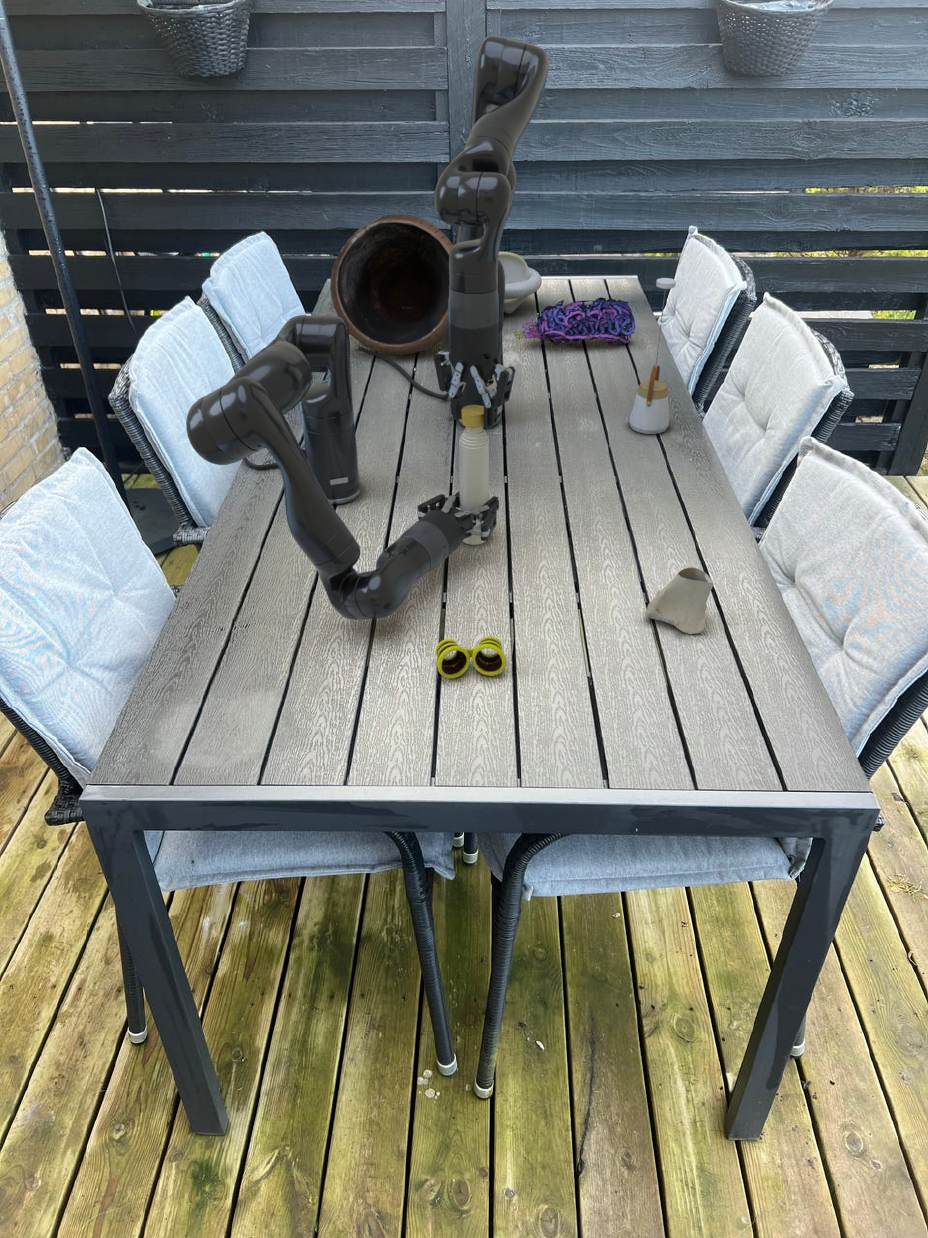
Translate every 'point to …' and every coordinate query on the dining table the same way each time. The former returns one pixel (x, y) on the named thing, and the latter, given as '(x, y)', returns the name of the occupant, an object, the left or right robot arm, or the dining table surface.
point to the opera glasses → (462, 658)
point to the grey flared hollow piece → (683, 601)
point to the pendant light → (652, 393)
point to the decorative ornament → (582, 322)
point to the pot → (394, 284)
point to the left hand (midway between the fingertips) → (482, 497)
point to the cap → (473, 416)
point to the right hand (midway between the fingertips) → (473, 421)
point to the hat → (517, 280)
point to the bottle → (473, 472)
